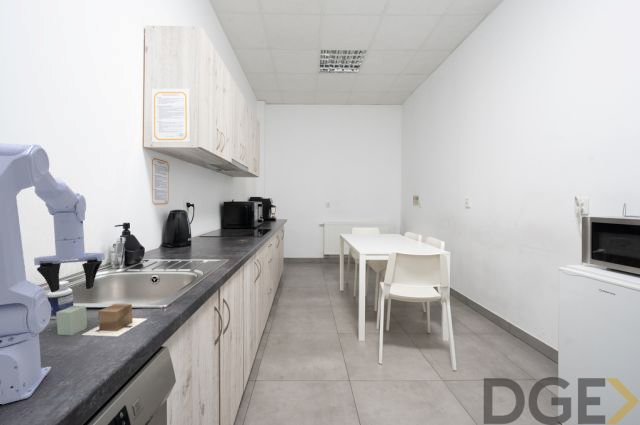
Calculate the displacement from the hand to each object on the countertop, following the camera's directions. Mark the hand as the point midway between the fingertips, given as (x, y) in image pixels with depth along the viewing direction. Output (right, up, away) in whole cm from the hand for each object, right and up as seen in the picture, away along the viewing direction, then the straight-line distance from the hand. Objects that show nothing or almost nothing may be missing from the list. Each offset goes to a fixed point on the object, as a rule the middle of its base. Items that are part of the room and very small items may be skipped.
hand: (72, 289), depth 74 cm
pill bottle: (-10, -10, +8) cm, 16 cm away
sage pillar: (+3, -10, -3) cm, 11 cm away
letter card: (+12, -10, -1) cm, 16 cm away
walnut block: (+12, -10, -1) cm, 16 cm away
